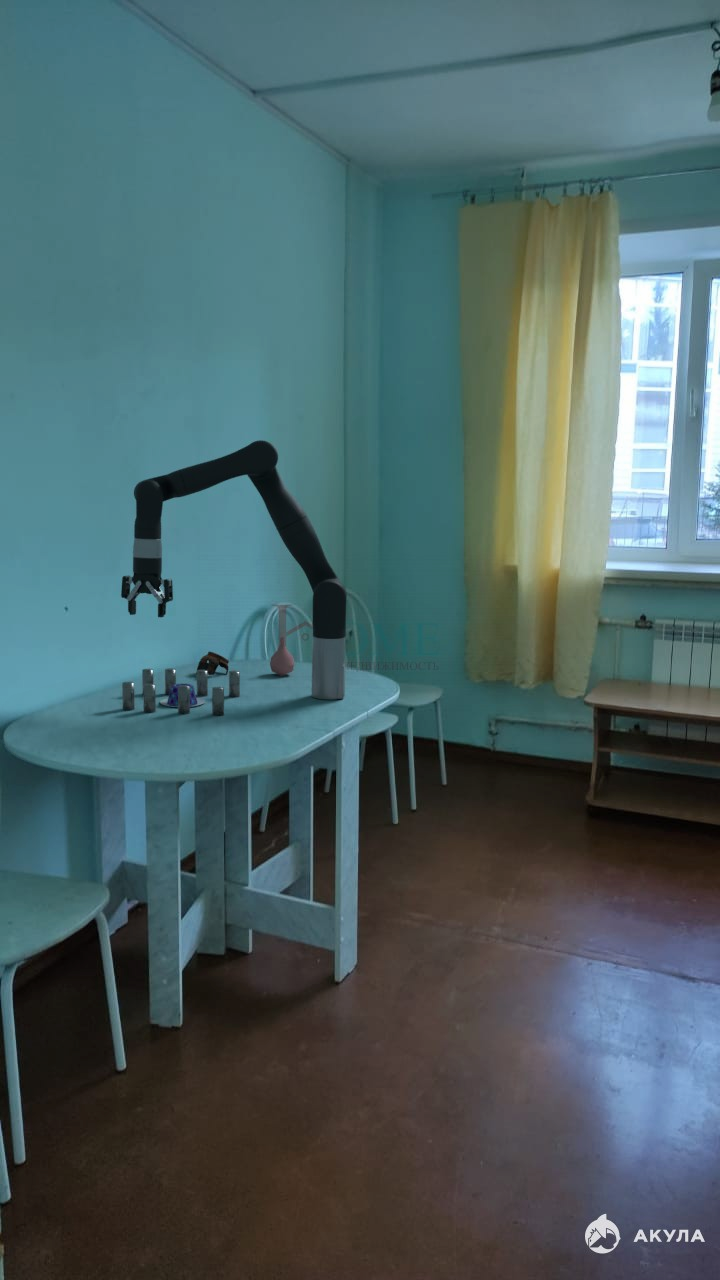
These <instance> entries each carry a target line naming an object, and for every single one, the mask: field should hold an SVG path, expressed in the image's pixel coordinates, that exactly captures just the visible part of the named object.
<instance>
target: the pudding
mask: <svg viewBox="0 0 720 1280" xmlns="http://www.w3.org/2000/svg"><path fill="white" fill-rule="evenodd" d="M180 685H189V686H190V708H192V707H197V706H200V705H203V704H204V703H206V700H205V699H203V698H200V697H197V694H196V692H195V688H194V685H192V684H190V683H176V684H175V685H173V686H172V687H171V689H170V693H169V695H168V697H167V698H163V699H161V700H160V702H159V703H160V704H161V705H163V706H165V707H170V708H171V707H172V708H173V707H174V708H178V686H180Z"/></svg>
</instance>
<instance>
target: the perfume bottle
mask: <svg viewBox="0 0 720 1280" xmlns="http://www.w3.org/2000/svg"><path fill="white" fill-rule="evenodd" d="M269 661H270V662H269V666H270V667H269V668H270V669H271V672H273V673H274V674H277V675H278V676H280V677H285V676H286V675H287V674H290V673H292V672H293V669H294V667H295V659H294V656H293V655H292V654H291V653H290V652H289V650H288V648H287V647H286V637H285V636H280V637H279V646H278V648H277V650H276V651H275V652H274V653H273V654H272V655H271V657H270V660H269Z"/></svg>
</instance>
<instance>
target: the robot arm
mask: <svg viewBox="0 0 720 1280" xmlns="http://www.w3.org/2000/svg"><path fill="white" fill-rule="evenodd" d="M278 461H279V453H278V450H277V448H276V447H275V445H274V444H273V443H272V442H269V441H267V440H259V439H258V440H256V441H255V440H254V441H253V442H251V443H249V444H248V445H245V446H244V447H241V448H240V449H238V450H236V451H234V452H231V453H229V454H226V455H223V456H221V457H217V458H215V459H212V460H208V461H204V462H201V463H198V464H194V465H190V466H187V467H184V468H180V469H177V470H175V471H172V472H170V473H167V474H164V475H163V474H162V475H159V476H156V477H151V478H148V479H144V480H141V481H139V482H138V483H137V484H136V485H135V486H134V489H133V496H134V499H135V502H136V503H135V504H136V505H135V508H136V509H135V515H136V516H135V520H134V526H133V527H134V530H133V533H134V534H133V536H134V539H133V546H132V574H133V576H131V575H123V576H122V578H121V594H120V597H121V598H122V599H125V600H127V612H128V613H129V615H130V616H131V615H132V616H133V615H136V614H137V601H136V599H137V597H138V596H139V595H140V594H147V595H152V596H153V597H154V598H155V599H156V601H157V602H158V604H157V617H158V618H164V617H165V615H166V614H167V613H166V612H167V603H169V602H173V600H174V589H173V586H174V585H173V579H172V578H168V579H167V578H166V579H164V578H163V579H162V573H163V570H162V569H163V568H162V566H163V545H162V513H163V506H164V505H163V504H164V503H163V502H167V501H169V500H171V499H174V498H182V497H183V498H184V497H187V496H190V495H192V494H195V493H199V492H202V491H204V490H207V489H210V488H212V487H215V486H216V485H219V484H221V483H223V482H226V481H228V480H231V479H232V480H233V479H235V478H238V477H242V476H247V477H248V478H249V480H250V481H251V483H252V484H253V486H254V487H255V489H256V490H257V492H258V493H259V495H260V497H261V498H262V500H263V503H264V505H265V507H266V510H267V512H268V514H269V516H270V518H271V521H272V522H273V525H274V526H275V528H276V531H277V532H278V533H277V534H278V535H279V536H280V538H281V540H282V542H283V544H284V545H285V547H286V548H287V550H288V551H289V553H290V554H291V556H292V557H293V558H294V560H295V561H296V563H297V564H298V565H299V566H300V567H301V569H302V570H303V573H304V574H305V576H306V578H307V580H308V581H307V582H308V583H309V585H310V587H311V589H312V593H313V594H312V624H311V625H312V648H311V649H312V650H311V651H312V652H311V653H312V659H311V660H312V661H311V666H312V667H311V697H312V698H315V699H318V700H338V699H339V700H341V699H343V700H344V698H345V693H346V666H347V665H346V632H347V628H346V627H347V622H346V621H347V619H346V618H347V598H348V597H347V596H348V594H347V589H346V586H345V585H344V584H343V582H342V581H341V579H340V578H339V577H338V574H336V572H335V571H334V569H333V567H332V566H331V564H330V562H329V561H328V559H327V557H326V555H325V552H324V550H323V547H322V544H321V542H320V539H319V536H318V535H317V533H316V531H315V529H314V528H315V527H313V525H312V522H311V521H310V518H309V517H308V515H307V514H306V513H307V512H306V511H305V510H304V508H303V507H302V506H301V504H300V503H299V502H298V500H297V499H296V498H295V497H294V496H293V494H291V492H290V491H289V490H288V488H287V487H286V485H285V484H284V481H283V480H282V478H281V476H280V474H279V473H280V472H279V471H278V469H277V464H278ZM132 583H133V588H132V589H131V585H132ZM161 586H162V587H163V590H162V588H161Z"/></svg>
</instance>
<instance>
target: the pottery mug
mask: <svg viewBox="0 0 720 1280" xmlns="http://www.w3.org/2000/svg"><path fill="white" fill-rule="evenodd" d="M229 663H230V661H229V660H228V659H227V658H226V657H224V656H222V655H220V654H218V653H216V652H213V651H208V652H207V654H205V655H203V656H202V657H201V658H200V660H199V662H198V664H197V668H196V672H195V674H196V675H197V670H208V675H209V676H214V675H215V674H216V671H217V669H218V667H220V668H223V669H225V670H226V671H225V675H228V674H229V671H230V670H229Z"/></svg>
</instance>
